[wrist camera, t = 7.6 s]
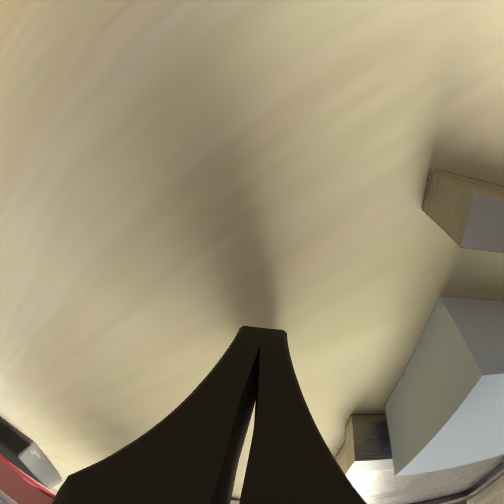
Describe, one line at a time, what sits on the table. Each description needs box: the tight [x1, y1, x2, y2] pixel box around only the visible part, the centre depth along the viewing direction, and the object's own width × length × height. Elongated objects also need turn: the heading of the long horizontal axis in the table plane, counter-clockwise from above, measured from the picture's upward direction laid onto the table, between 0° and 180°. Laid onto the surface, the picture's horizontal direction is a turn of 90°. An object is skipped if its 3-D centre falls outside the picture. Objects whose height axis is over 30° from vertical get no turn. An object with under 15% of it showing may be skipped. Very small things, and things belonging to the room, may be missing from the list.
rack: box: [335, 169, 504, 504], centre depth 10 cm, size 23×14×3 cm, turn 178°
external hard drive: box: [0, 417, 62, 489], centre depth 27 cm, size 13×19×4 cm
